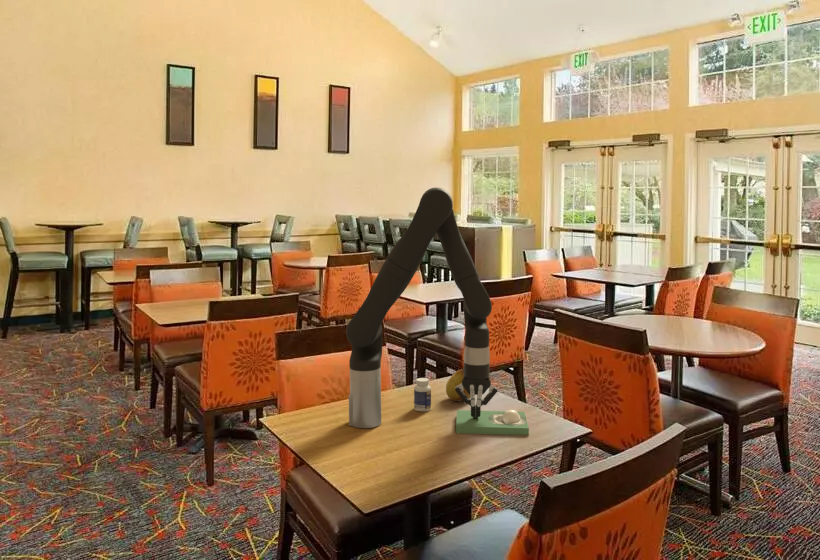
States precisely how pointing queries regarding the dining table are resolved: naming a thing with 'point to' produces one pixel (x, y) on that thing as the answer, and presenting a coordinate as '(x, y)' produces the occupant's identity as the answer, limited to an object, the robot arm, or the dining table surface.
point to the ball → (511, 417)
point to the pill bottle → (422, 395)
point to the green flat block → (490, 423)
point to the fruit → (454, 381)
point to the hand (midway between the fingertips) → (475, 417)
